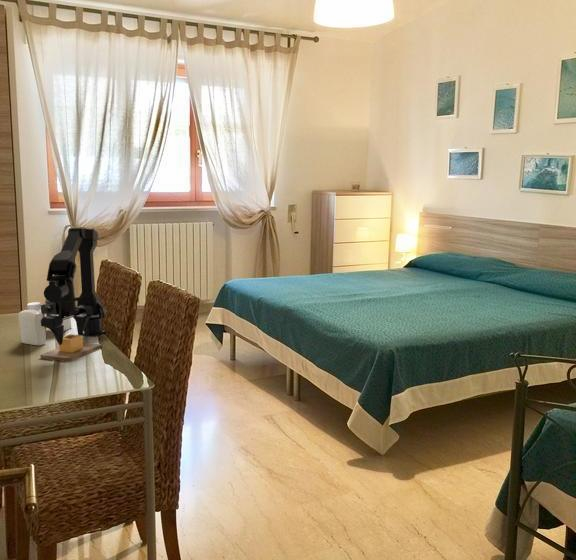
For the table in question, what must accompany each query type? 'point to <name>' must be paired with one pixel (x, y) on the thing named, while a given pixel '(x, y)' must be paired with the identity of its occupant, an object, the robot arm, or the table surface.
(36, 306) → the supplement bottle
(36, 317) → the white flat bottle
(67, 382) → the table surface
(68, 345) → the orange square block
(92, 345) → the peg board
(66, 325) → the jar
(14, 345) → the table surface
